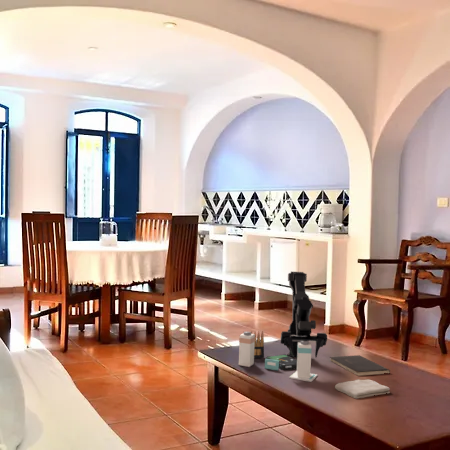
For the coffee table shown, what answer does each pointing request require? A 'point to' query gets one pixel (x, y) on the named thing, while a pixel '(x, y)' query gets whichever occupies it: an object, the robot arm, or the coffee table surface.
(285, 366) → the disk drive
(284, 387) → the coffee table surface
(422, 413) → the coffee table surface
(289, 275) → the robot arm
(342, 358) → the hardcover book
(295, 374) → the mat
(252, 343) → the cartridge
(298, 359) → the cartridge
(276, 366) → the teal cartridge with label
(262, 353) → the ammunition clip
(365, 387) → the washcloth
